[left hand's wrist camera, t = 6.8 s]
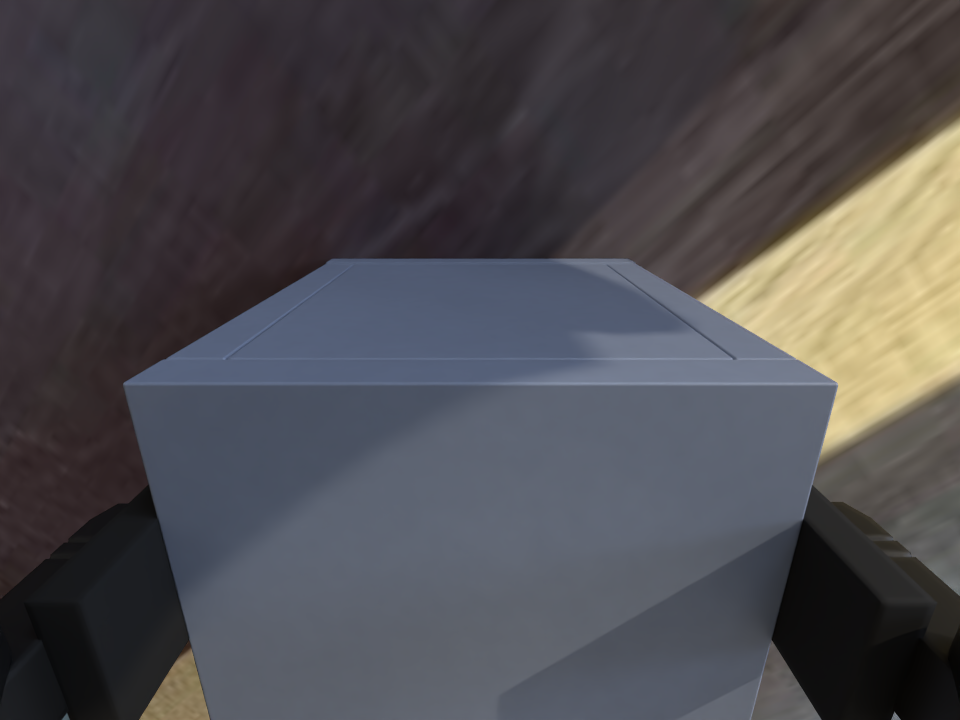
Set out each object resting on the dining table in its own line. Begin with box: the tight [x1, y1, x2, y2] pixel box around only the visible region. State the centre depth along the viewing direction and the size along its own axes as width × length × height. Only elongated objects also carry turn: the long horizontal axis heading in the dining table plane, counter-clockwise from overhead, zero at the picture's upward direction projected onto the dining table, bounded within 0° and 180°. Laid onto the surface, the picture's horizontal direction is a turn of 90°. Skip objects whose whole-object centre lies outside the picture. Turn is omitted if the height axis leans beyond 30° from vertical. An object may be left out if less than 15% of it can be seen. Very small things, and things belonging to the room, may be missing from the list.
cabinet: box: [123, 259, 838, 720], centre depth 16 cm, size 15×11×12 cm
